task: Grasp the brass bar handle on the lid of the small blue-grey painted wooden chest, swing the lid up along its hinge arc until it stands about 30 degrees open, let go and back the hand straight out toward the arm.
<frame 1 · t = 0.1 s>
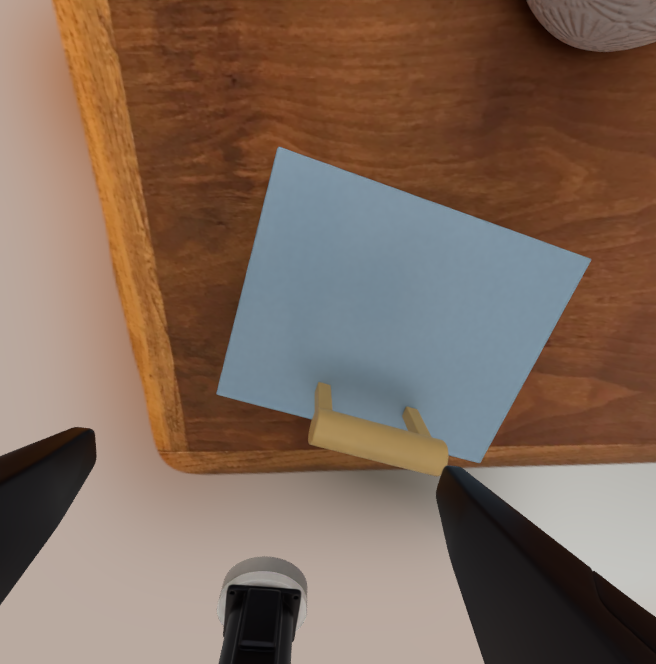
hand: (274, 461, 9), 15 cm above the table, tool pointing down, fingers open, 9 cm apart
lid: (403, 342, 16), point 8 cm above the table, hinge at 0.0°
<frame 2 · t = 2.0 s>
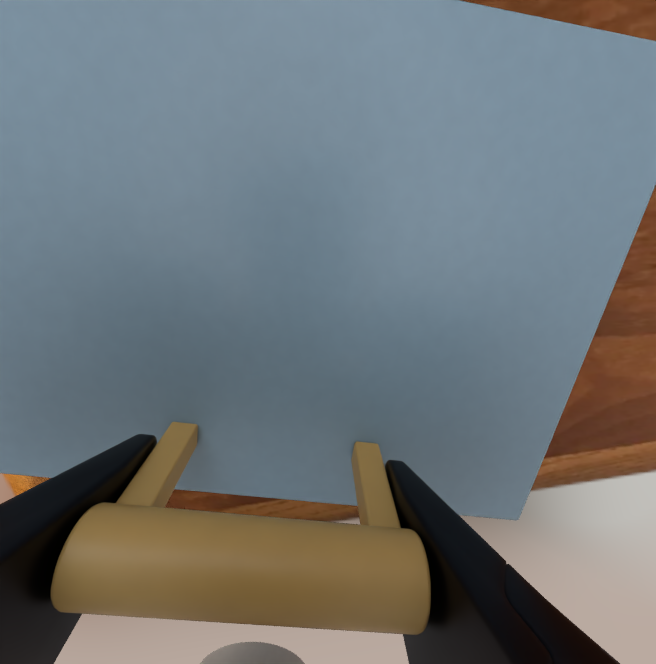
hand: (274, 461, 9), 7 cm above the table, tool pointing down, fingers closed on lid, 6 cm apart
lid: (288, 316, 7), point 8 cm above the table, hinge at 0.0°, touching gripper
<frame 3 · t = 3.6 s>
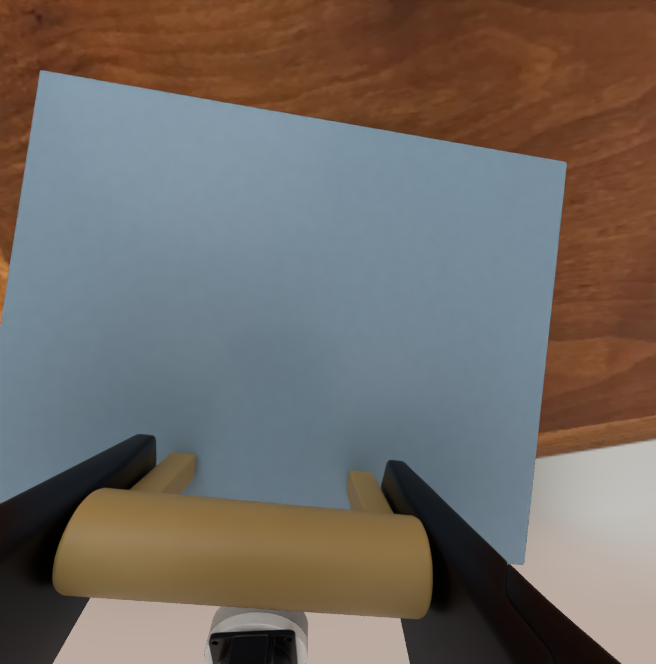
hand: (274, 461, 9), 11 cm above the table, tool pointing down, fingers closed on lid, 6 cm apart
lid: (289, 324, 8), point 10 cm above the table, hinge at 21.5°, touching gripper
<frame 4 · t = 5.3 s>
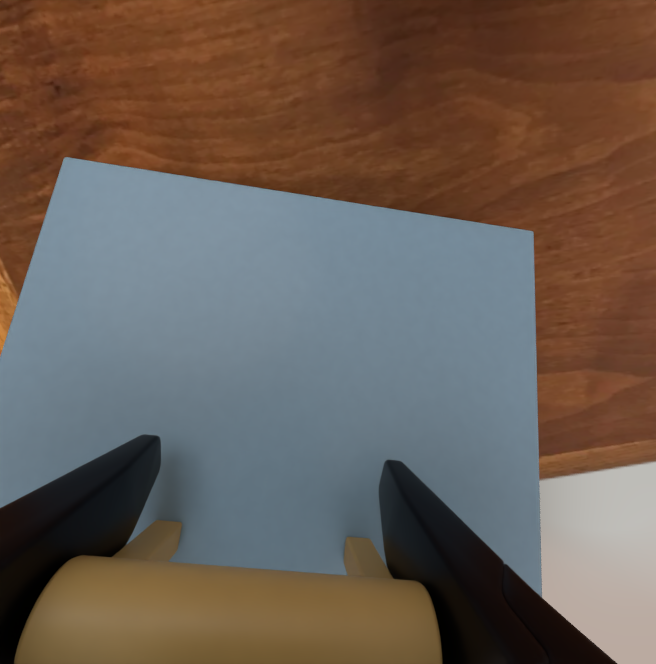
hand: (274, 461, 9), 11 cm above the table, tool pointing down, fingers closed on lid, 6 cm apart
lid: (284, 378, 8), point 11 cm above the table, hinge at 31.4°, touching gripper
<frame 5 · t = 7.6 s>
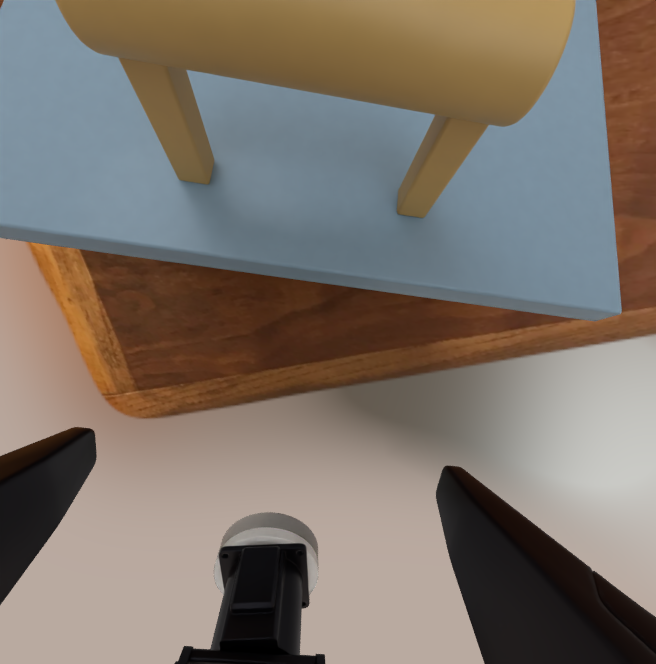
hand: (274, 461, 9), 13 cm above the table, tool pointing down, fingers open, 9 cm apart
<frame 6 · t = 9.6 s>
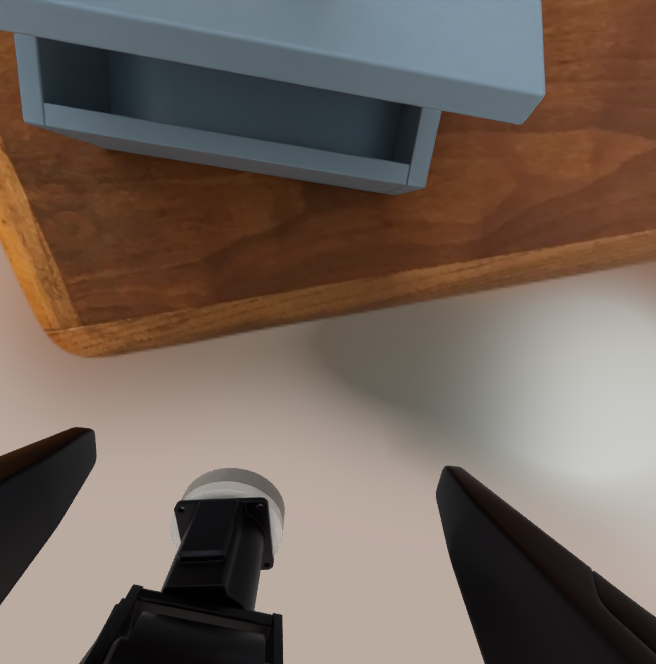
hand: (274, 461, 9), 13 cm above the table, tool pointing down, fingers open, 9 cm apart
chest: (264, 43, 17), on the table
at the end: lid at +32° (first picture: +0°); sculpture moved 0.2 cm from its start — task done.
